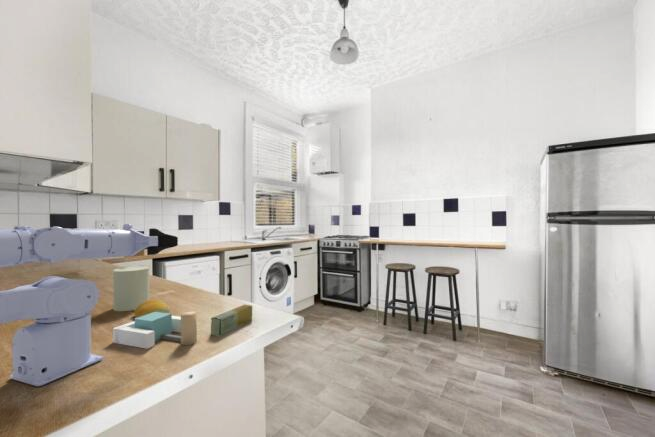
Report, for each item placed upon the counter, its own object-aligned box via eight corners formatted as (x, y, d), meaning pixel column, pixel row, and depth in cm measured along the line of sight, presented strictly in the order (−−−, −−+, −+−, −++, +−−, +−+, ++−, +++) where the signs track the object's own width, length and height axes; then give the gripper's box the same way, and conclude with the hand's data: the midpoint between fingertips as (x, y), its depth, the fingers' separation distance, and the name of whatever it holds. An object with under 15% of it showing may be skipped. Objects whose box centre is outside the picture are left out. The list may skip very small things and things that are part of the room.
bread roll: (137, 323, 73) (137, 308, 73) (132, 315, 79) (132, 300, 79) (173, 316, 78) (173, 301, 78) (166, 309, 85) (165, 295, 85)
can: (130, 302, 92) (130, 264, 92) (156, 302, 91) (156, 264, 91) (104, 310, 83) (104, 269, 83) (133, 312, 82) (133, 269, 82)
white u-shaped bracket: (147, 348, 57) (147, 333, 58) (113, 342, 61) (112, 328, 61) (187, 330, 67) (187, 317, 67) (155, 325, 70) (155, 313, 70)
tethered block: (184, 348, 58) (184, 318, 58) (134, 339, 62) (134, 311, 62) (203, 338, 62) (203, 310, 62) (155, 331, 67) (155, 305, 67)
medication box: (219, 337, 63) (219, 319, 63) (209, 335, 64) (209, 317, 64) (252, 320, 75) (252, 304, 75) (244, 318, 76) (244, 303, 76)
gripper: (127, 220, 54) (187, 223, 67) (81, 225, 60) (144, 227, 72) (126, 257, 53) (187, 253, 66) (80, 259, 59) (144, 255, 72)
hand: (165, 242), depth 69 cm, fingers open, 7 cm apart
